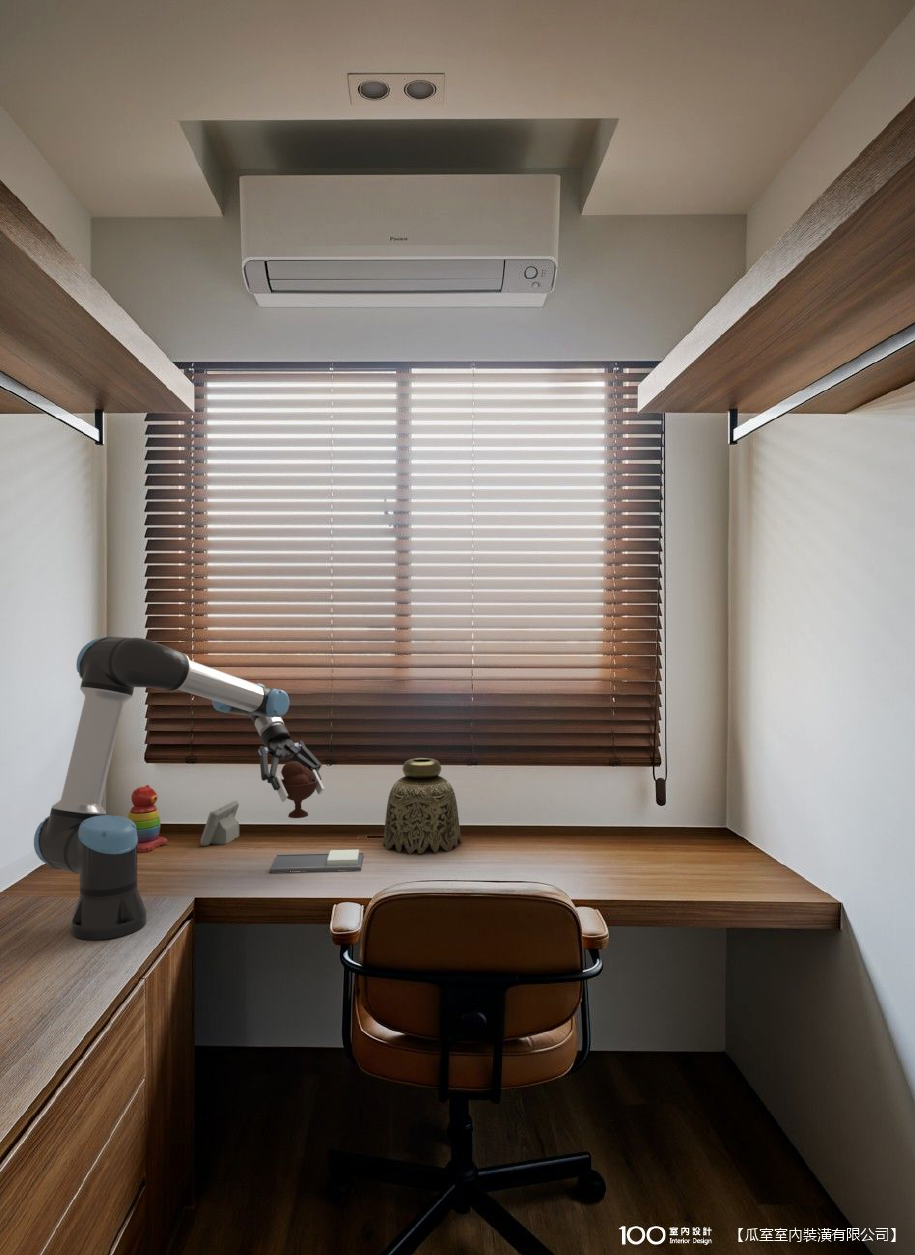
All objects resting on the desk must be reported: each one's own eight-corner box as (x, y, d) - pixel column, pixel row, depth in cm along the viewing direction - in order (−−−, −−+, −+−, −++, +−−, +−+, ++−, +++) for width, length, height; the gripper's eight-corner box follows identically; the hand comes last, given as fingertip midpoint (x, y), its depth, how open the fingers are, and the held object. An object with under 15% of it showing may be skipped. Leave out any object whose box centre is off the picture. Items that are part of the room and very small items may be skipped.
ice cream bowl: (310, 821, 212) (309, 765, 212) (270, 819, 215) (269, 764, 214) (324, 811, 223) (323, 757, 222) (287, 809, 225) (286, 756, 225)
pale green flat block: (327, 866, 215) (327, 860, 215) (330, 855, 225) (330, 849, 225) (357, 865, 216) (357, 859, 216) (359, 854, 226) (359, 848, 226)
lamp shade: (454, 856, 227) (453, 768, 226) (374, 853, 230) (374, 766, 230) (466, 834, 250) (465, 754, 249) (394, 831, 253) (393, 752, 253)
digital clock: (226, 832, 254) (225, 798, 253) (249, 834, 250) (249, 800, 250) (191, 845, 238) (190, 810, 238) (216, 849, 235) (215, 813, 235)
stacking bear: (146, 853, 231) (145, 791, 231) (117, 850, 234) (117, 789, 234) (171, 843, 241) (170, 784, 241) (143, 840, 245) (142, 781, 244)
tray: (269, 872, 213) (269, 868, 213) (277, 858, 226) (277, 854, 226) (360, 870, 215) (360, 866, 214) (363, 856, 227) (363, 852, 227)
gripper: (302, 734, 237) (333, 795, 226) (230, 744, 221) (260, 810, 211) (312, 718, 233) (344, 780, 222) (239, 727, 217) (270, 794, 207)
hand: (303, 795), depth 217 cm, fingers closed on ice cream bowl, 11 cm apart
